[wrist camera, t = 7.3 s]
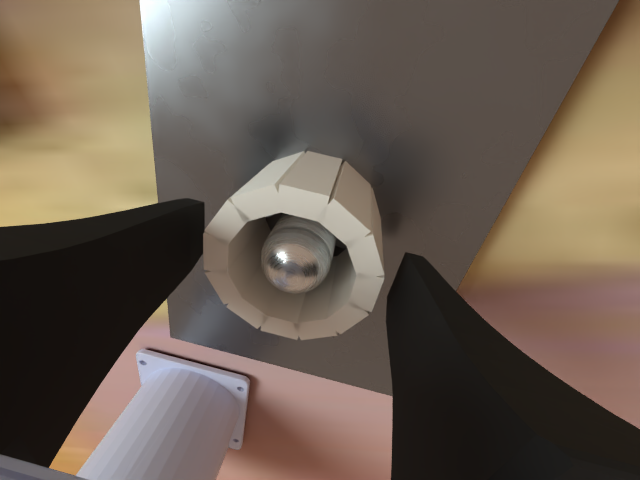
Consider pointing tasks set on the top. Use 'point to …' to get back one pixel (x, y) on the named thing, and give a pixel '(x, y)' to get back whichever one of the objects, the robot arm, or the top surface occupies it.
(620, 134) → the top surface
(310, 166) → the ring
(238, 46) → the steel tile with stud
